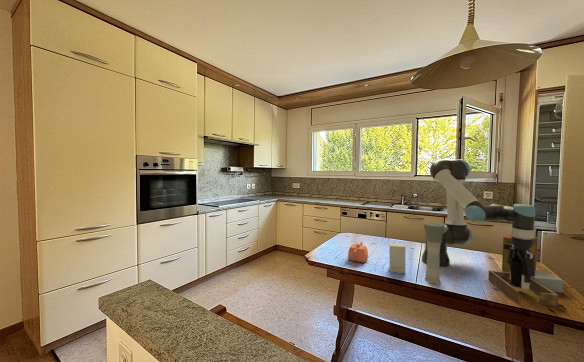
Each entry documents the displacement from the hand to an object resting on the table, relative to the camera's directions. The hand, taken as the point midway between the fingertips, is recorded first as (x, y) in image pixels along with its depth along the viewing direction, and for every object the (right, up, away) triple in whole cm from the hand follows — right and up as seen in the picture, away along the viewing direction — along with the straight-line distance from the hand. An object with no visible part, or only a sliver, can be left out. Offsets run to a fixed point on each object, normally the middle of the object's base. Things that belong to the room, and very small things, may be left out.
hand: (518, 283), depth 115 cm
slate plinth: (+15, -3, +5) cm, 17 cm away
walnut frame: (0, -4, 0) cm, 4 cm away
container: (-35, -3, +11) cm, 37 cm away
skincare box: (-48, -3, +23) cm, 54 cm away
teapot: (-66, -2, +41) cm, 77 cm away
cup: (0, -1, 0) cm, 1 cm away
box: (+20, -3, +22) cm, 30 cm away
